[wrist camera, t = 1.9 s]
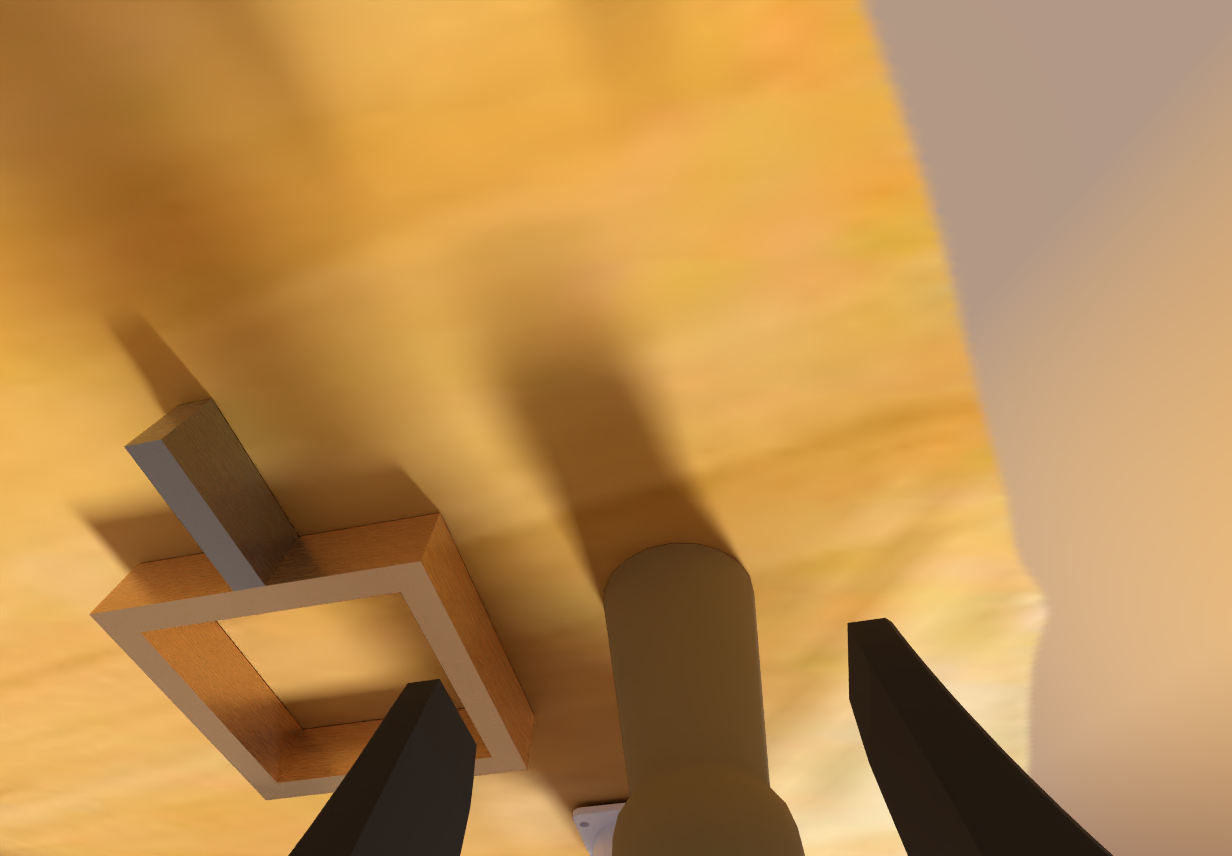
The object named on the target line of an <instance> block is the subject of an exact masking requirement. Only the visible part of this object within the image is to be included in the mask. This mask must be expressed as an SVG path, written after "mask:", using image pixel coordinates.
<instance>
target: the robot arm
mask: <svg viewBox="0 0 1232 856" xmlns="http://www.w3.org/2000/svg"><path fill="white" fill-rule="evenodd" d="M848 665H849V700H850V703H851V706H852V709H853V713H854V716H855V719H856V722H857V726H858V729H859V732H860V735H861V739H862V742H863V745H864V748H865V751H866V754H867V757H868V761H869V764H870V766H871V768H872V771H873V773H874V776H875V778H876V781H877V783H878V785H879V788H880V790H881V793H882V795H883V797H884V800H885V802H886V805H887V807H888V809H889V812H890V814H891V817H892V819H893V821H894V824H895V826H896V828H897V831H898V833H899V835H900V838H901V840H902V843H903V845H904V847H905V850H906V852H907V854H908V856H1113V855H1112V854H1111V853H1110V852H1109V851H1107V850H1106V849H1105V848H1104V847H1103V846H1102V845H1101V844H1100V843H1098V841H1096V840H1095V839H1094V838H1093V837H1092V836H1091V835H1090V834H1089V833H1088V832H1086V830H1084V829H1083V828H1082V827H1081V826H1080V825H1079V824H1078V823H1077V822H1076V821H1075V820H1074V819H1073V818H1072V817H1071V816H1070V815H1069V814H1068V813H1066V812H1065V811H1064V810H1063V809H1062V808H1061V807H1060V806H1059V805H1058V804H1057V803H1056V802H1055V801H1054V800H1053V799H1052V798H1051V797H1050V796H1049V795H1048V794H1047V793H1046V792H1045V791H1044V790H1043V789H1042V788H1041V787H1040V786H1039V785H1038V784H1037V783H1035V781H1034V780H1033V779H1032V778H1030V777H1029V776H1028V775H1027V774H1026V773H1025V772H1024V771H1023V770H1022V768H1021V767H1020V766H1019V765H1018V764H1017V763H1016V762H1015V761H1014V760H1013V759H1012V758H1011V757H1010V756H1009V755H1008V754H1007V753H1006V752H1005V751H1004V750H1003V749H1002V748H1001V747H1000V746H999V745H998V744H997V743H996V742H995V741H994V740H993V738H992V737H991V736H990V735H989V734H988V733H987V732H986V731H985V730H984V729H983V728H982V727H981V726H980V725H979V724H978V723H977V722H976V720H975V719H974V718H973V717H972V716H971V715H970V714H969V713H968V712H967V711H966V710H965V709H964V708H963V706H962V705H961V704H960V703H959V702H958V701H957V700H956V699H955V698H954V696H953V695H952V694H951V693H950V692H949V691H948V690H947V688H946V687H945V686H944V685H943V684H942V683H941V682H940V680H939V679H938V678H937V677H936V676H935V675H934V674H933V672H932V671H931V670H930V669H929V668H928V667H927V665H926V664H925V663H924V662H923V661H922V659H921V658H920V657H919V656H918V655H917V653H916V652H915V651H914V650H913V648H912V647H911V646H910V645H909V643H908V642H907V641H906V640H905V638H904V637H903V636H902V635H901V633H900V632H899V631H898V629H897V628H896V627H895V626H894V624H893V623H892V622H891V621H889V620H888V619H886V618H881V619H874V620H866V621H859V622H852V623H848ZM476 747H477V744H476V743H475V741H474V739H473V737H472V735H471V734H470V732H469V730H468V728H467V727H466V725H465V723H464V721H463V720H462V718H461V716H460V714H459V713H458V711H457V709H456V707H455V705H454V704H453V702H452V700H451V698H450V697H449V695H448V693H447V691H446V690H445V688H444V686H443V684H442V682H441V681H440V679H436V680H429V681H421V682H414V683H408V684H407V685H406V687H405V688H404V690H403V691H402V693H401V694H400V696H399V697H398V698H397V700H396V701H395V703H394V704H393V706H392V707H391V709H390V710H389V712H388V713H387V715H386V716H385V718H384V719H383V721H382V722H381V724H380V725H379V727H378V728H377V730H376V731H375V733H374V734H373V736H372V737H371V739H370V740H369V742H368V743H367V745H366V746H365V748H364V749H363V751H362V752H361V754H360V755H359V757H358V758H357V760H356V761H355V763H354V764H353V766H352V767H351V769H350V770H349V771H348V773H347V774H346V776H345V777H344V779H343V780H342V782H341V783H340V784H339V786H338V787H337V789H336V790H335V792H334V793H333V795H332V796H331V797H330V799H329V800H328V802H327V803H326V805H325V806H324V807H323V809H322V810H321V812H320V813H319V815H318V816H317V817H316V819H315V820H314V822H313V823H312V824H311V826H310V827H309V829H308V830H307V831H306V833H305V834H304V835H303V837H302V838H301V839H300V841H299V842H298V843H297V845H296V846H295V848H294V849H293V850H292V852H291V853H290V854H289V856H460V853H461V849H462V844H463V839H464V835H465V830H466V825H467V820H468V815H469V811H470V804H471V796H472V788H473V779H474V769H475V758H476ZM624 805H625V803H617V804H608V805H598V806H589V807H580V808H577V809H575V810H574V811H573V821H574V823H575V825H576V827H577V829H578V831H579V833H580V836H581V838H582V840H583V842H584V844H585V846H586V848H587V850H588V852H589V854H590V856H612V838H613V833H614V829H615V825H616V821H617V817H618V814H619V812H620V811H621V809H622V808H623V806H624Z"/></svg>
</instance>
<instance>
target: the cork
mask: <svg viewBox="0 0 1232 856" xmlns="http://www.w3.org/2000/svg"><path fill="white" fill-rule="evenodd" d="M604 610H605V617H606V624H607V631H608V639H609V646H610V653H611V660H612V668H613V675H614V682H615V690H616V697H617V704H618V711H619V719H620V726H621V733H622V740H623V748H624V755H625V762H626V769H627V777H628V784H629V791H630V797H629V799H628V800H627V802H626V803H625V805H624V806H623V808H622V809H621V811H620V812H619V814H618V817H617V821H616V825H615V829H614V833H613V838H612V856H805V854H804V850H803V846H802V842H801V838H800V835H799V831H798V828H797V825H796V823H795V821H794V819H793V817H792V815H791V813H790V811H789V808H788V806H787V804H786V803H785V802H784V801H783V800H782V799H781V798H780V797H779V796H778V795H777V794H776V793H775V792H774V791H773V790H772V789H771V788H770V783H769V770H768V758H767V746H766V733H765V721H764V709H763V696H762V684H761V672H760V660H759V647H758V635H757V623H756V610H755V598H754V591H753V587H752V583H751V579H750V576H749V575H748V573H747V572H746V571H745V569H744V568H743V567H742V566H741V564H740V563H739V562H738V561H737V560H735V559H733V558H732V557H730V556H729V555H727V554H725V553H724V552H722V551H720V550H718V549H714V548H710V547H707V546H703V545H699V544H682V543H671V544H666V545H662V546H657V547H653V548H648V549H646V550H644V551H642V552H640V553H638V554H636V555H634V556H632V557H630V558H628V559H627V560H626V561H625V562H623V563H622V564H621V565H620V566H619V567H618V568H617V569H616V570H615V571H614V572H613V573H612V575H611V577H610V579H609V581H608V583H607V585H606V587H605V590H604Z"/></svg>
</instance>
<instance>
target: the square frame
mask: <svg viewBox="0 0 1232 856" xmlns="http://www.w3.org/2000/svg"><path fill="white" fill-rule="evenodd" d="M124 447H125V448H126V450H127V451H128V452H129V454H130V455H131V456H132V458H133V459H134V460H135V462H136V463H137V464H138V466H139V467H140V468H141V470H142V471H143V472H144V473H145V475H146V476H147V477H148V479H149V480H150V481H151V483H152V484H153V485H154V487H155V488H156V489H157V491H158V492H159V493H160V495H161V496H162V497H163V499H164V500H165V501H166V503H167V504H168V505H169V507H170V508H171V509H172V511H173V512H174V513H175V515H176V516H177V517H178V519H179V520H180V521H181V523H182V524H183V525H184V527H185V528H186V529H187V531H188V532H189V533H190V535H191V536H192V537H193V538H194V540H195V541H196V542H197V544H198V545H199V546H200V548H201V549H202V550H203V552H204V553H201V554H195V555H189V556H183V557H177V558H171V559H165V560H160V561H154V562H148V563H142V564H138V565H137V566H136V567H135V568H134V569H133V570H132V571H131V572H130V573H129V574H128V575H127V576H126V577H125V578H124V579H123V580H122V581H121V582H120V583H119V584H118V585H117V586H116V588H115V589H114V590H113V591H112V592H111V593H110V594H109V595H108V596H107V597H106V598H105V599H104V600H103V601H102V602H101V603H100V604H99V605H98V606H97V607H96V608H95V609H94V610H93V611H92V612H91V613H90V614H89V615H90V616H91V617H92V618H93V619H94V620H95V621H96V622H97V623H98V624H99V625H100V626H101V627H102V628H103V629H104V630H105V631H106V633H107V634H108V635H109V636H110V637H111V638H112V639H113V640H114V641H115V642H116V643H117V644H118V645H119V646H120V647H121V648H122V649H123V650H124V651H125V653H126V654H127V655H128V656H129V657H130V658H131V659H132V660H133V661H134V662H135V663H136V664H137V665H138V666H139V667H140V668H141V669H142V670H143V671H144V672H145V674H146V675H147V676H148V677H149V678H150V679H151V680H152V681H153V682H154V683H155V684H156V685H157V686H158V687H159V688H160V689H161V690H162V691H163V692H164V693H165V695H166V696H167V697H168V698H169V699H170V700H171V701H172V702H173V703H174V704H175V705H176V706H177V707H178V708H179V709H180V710H181V711H182V712H183V713H184V714H185V716H186V717H187V718H188V719H189V720H190V721H191V722H192V723H193V724H194V725H195V726H196V727H197V728H198V729H199V730H200V731H201V732H202V733H203V734H204V736H205V737H206V738H207V739H208V740H209V741H210V742H211V743H212V744H213V745H214V746H215V747H216V748H217V749H218V750H219V751H220V752H221V753H222V754H223V755H224V757H225V758H226V759H227V760H228V761H229V762H230V763H231V764H232V765H233V766H234V767H235V768H236V769H237V770H238V771H239V772H240V773H241V774H242V775H243V776H244V778H245V779H246V780H247V781H248V782H249V783H250V784H251V785H252V786H253V787H254V788H255V789H256V790H257V791H258V792H259V793H260V794H261V795H262V796H263V798H264V799H265V800H272V799H281V798H289V797H298V796H306V795H315V794H324V793H332V792H335V790H336V789H337V787H338V786H339V784H340V783H341V782H342V780H343V779H344V777H345V776H346V774H347V773H348V771H349V770H350V769H351V767H352V766H353V764H354V763H355V761H356V760H357V758H358V757H359V755H360V754H361V752H362V751H363V749H364V748H365V746H366V745H367V743H368V742H369V740H370V739H371V737H372V736H373V734H374V733H375V731H376V730H377V728H378V727H379V725H380V724H381V722H382V721H383V719H382V720H374V721H366V722H359V723H351V724H343V725H336V726H328V727H320V728H312V729H305V730H303V729H302V728H301V727H300V726H299V724H298V723H297V722H296V721H295V719H294V718H293V717H292V716H291V714H290V713H289V712H288V711H287V709H286V708H285V707H284V706H283V704H282V703H281V702H280V701H279V700H278V698H277V697H276V696H275V695H274V693H273V692H272V691H271V690H270V688H269V687H268V686H267V685H266V683H265V682H264V681H263V680H262V678H261V677H260V676H259V675H258V673H257V672H256V671H255V670H254V668H253V667H252V666H251V665H250V663H249V662H248V661H247V660H246V658H245V657H244V656H243V655H242V653H241V652H240V651H239V650H238V648H237V647H236V646H235V645H234V644H233V642H232V641H231V640H230V639H229V637H228V636H227V635H226V634H225V632H224V631H223V630H222V629H221V627H220V626H219V625H218V624H217V622H216V621H218V620H224V619H230V618H237V617H243V616H250V615H256V614H263V613H269V612H276V611H282V610H288V609H295V608H301V607H308V606H314V605H321V604H327V603H334V602H340V601H346V600H353V599H359V598H366V597H372V596H379V595H385V594H392V593H398V592H401V594H402V596H403V597H404V599H405V601H406V603H407V605H408V606H409V608H410V610H411V612H412V614H413V615H414V617H415V619H416V621H417V623H418V624H419V626H420V628H421V630H422V632H423V633H424V635H425V637H426V639H427V641H428V642H429V644H430V646H431V648H432V650H433V651H434V653H435V655H436V657H437V659H438V660H439V662H440V664H441V666H442V668H443V669H444V671H445V673H446V675H447V677H448V678H449V680H450V682H451V684H452V686H453V687H454V689H455V691H456V693H457V695H458V696H459V698H460V700H461V702H462V704H463V705H464V707H465V709H458V710H457V711H458V713H459V714H460V716H461V718H462V720H463V721H464V723H465V725H466V727H467V728H468V730H469V732H470V734H471V735H472V737H473V739H474V741H475V743H476V744H477V747H476V758H475V769H474V776H478V775H487V774H495V773H504V772H512V771H521V770H527V769H528V761H529V754H530V746H531V739H532V731H533V724H534V714H533V712H532V710H531V708H530V705H529V703H528V701H527V699H526V697H525V695H524V693H523V690H522V688H521V686H520V684H519V682H518V680H517V677H516V675H515V673H514V671H513V669H512V667H511V665H510V662H509V660H508V658H507V656H506V654H505V652H504V649H503V647H502V645H501V643H500V641H499V639H498V636H497V634H496V632H495V630H494V628H493V626H492V624H491V621H490V619H489V617H488V615H487V613H486V611H485V608H484V606H483V604H482V602H481V600H480V598H479V595H478V593H477V591H476V589H475V587H474V585H473V583H472V580H471V578H470V576H469V574H468V572H467V570H466V567H465V565H464V563H463V561H462V559H461V557H460V555H459V552H458V550H457V548H456V546H455V544H454V542H453V539H452V537H451V535H450V533H449V531H448V529H447V526H446V524H445V522H444V520H443V518H442V516H441V514H440V513H437V514H431V515H425V516H419V517H413V518H407V519H401V520H395V521H389V522H383V523H378V524H372V525H366V526H360V527H354V528H348V529H342V530H336V531H330V532H325V533H319V534H313V535H307V536H301V537H299V536H298V534H297V533H296V531H295V529H294V528H293V526H292V525H291V523H290V521H289V520H288V518H287V517H286V515H285V514H284V512H283V510H282V509H281V507H280V506H279V504H278V503H277V501H276V499H275V498H274V496H273V495H272V493H271V492H270V490H269V488H268V487H267V485H266V484H265V482H264V480H263V479H262V477H261V476H260V474H259V473H258V471H257V469H256V468H255V466H254V465H253V463H252V462H251V460H250V458H249V457H248V455H247V454H246V452H245V451H244V449H243V447H242V446H241V444H240V443H239V441H238V439H237V438H236V436H235V435H234V433H233V432H232V430H231V428H230V427H229V425H228V424H227V422H226V421H225V419H224V417H223V416H222V414H221V413H220V411H219V409H218V408H217V406H216V405H215V403H214V402H213V400H212V399H207V400H202V401H197V402H192V403H188V404H183V405H178V406H177V407H176V408H174V409H173V410H172V411H170V412H169V413H168V414H166V415H165V416H164V417H163V418H161V419H160V420H159V421H157V422H156V423H155V424H153V425H152V426H151V427H149V428H148V429H147V430H145V431H144V432H143V433H141V434H140V435H139V436H137V437H136V438H135V439H134V440H132V441H131V442H130V443H128V444H127V445H126V446H124Z"/></svg>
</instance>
